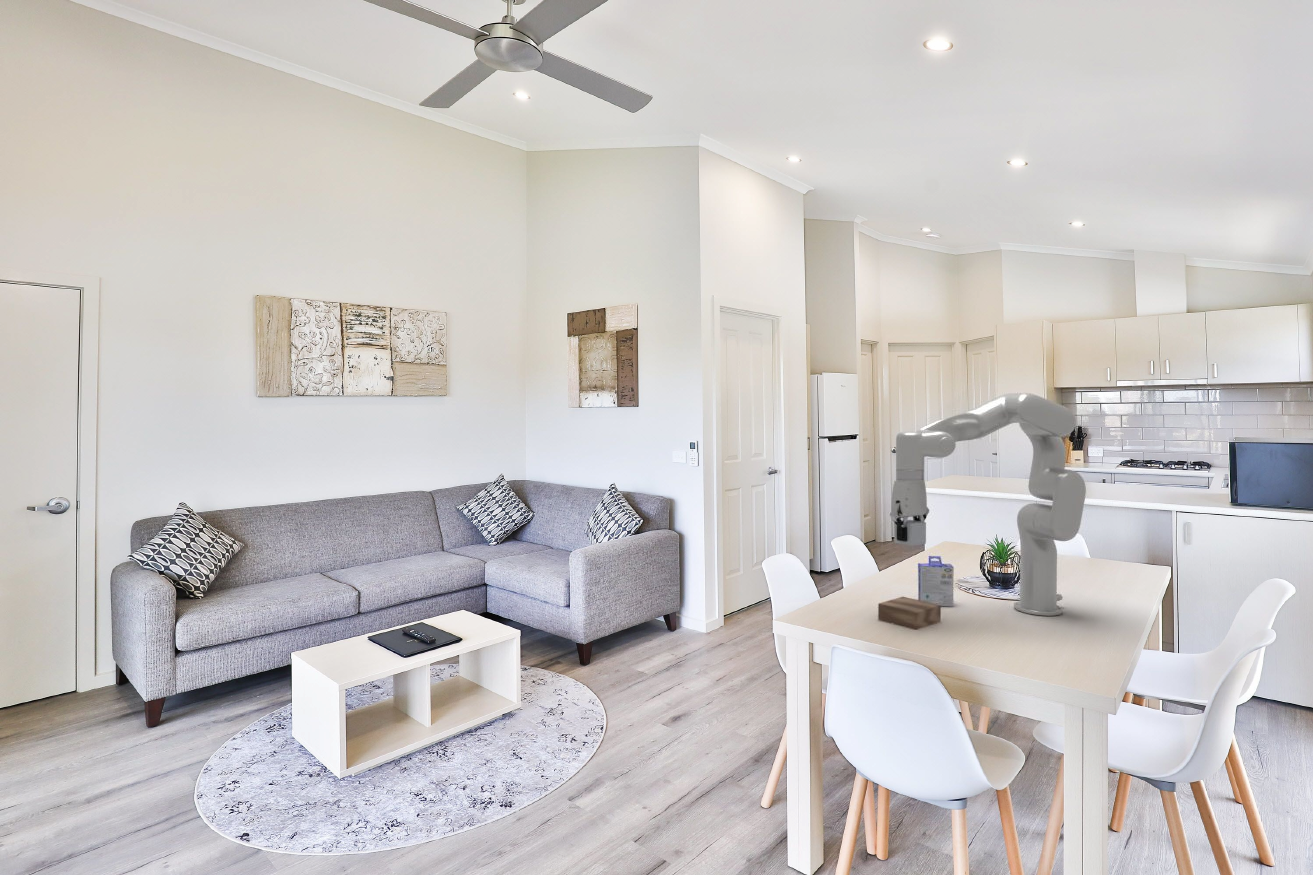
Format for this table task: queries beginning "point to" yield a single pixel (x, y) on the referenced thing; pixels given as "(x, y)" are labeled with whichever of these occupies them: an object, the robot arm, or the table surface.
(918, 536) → the grey block
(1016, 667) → the table surface
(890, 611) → the walnut block
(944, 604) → the ink cartridge box
